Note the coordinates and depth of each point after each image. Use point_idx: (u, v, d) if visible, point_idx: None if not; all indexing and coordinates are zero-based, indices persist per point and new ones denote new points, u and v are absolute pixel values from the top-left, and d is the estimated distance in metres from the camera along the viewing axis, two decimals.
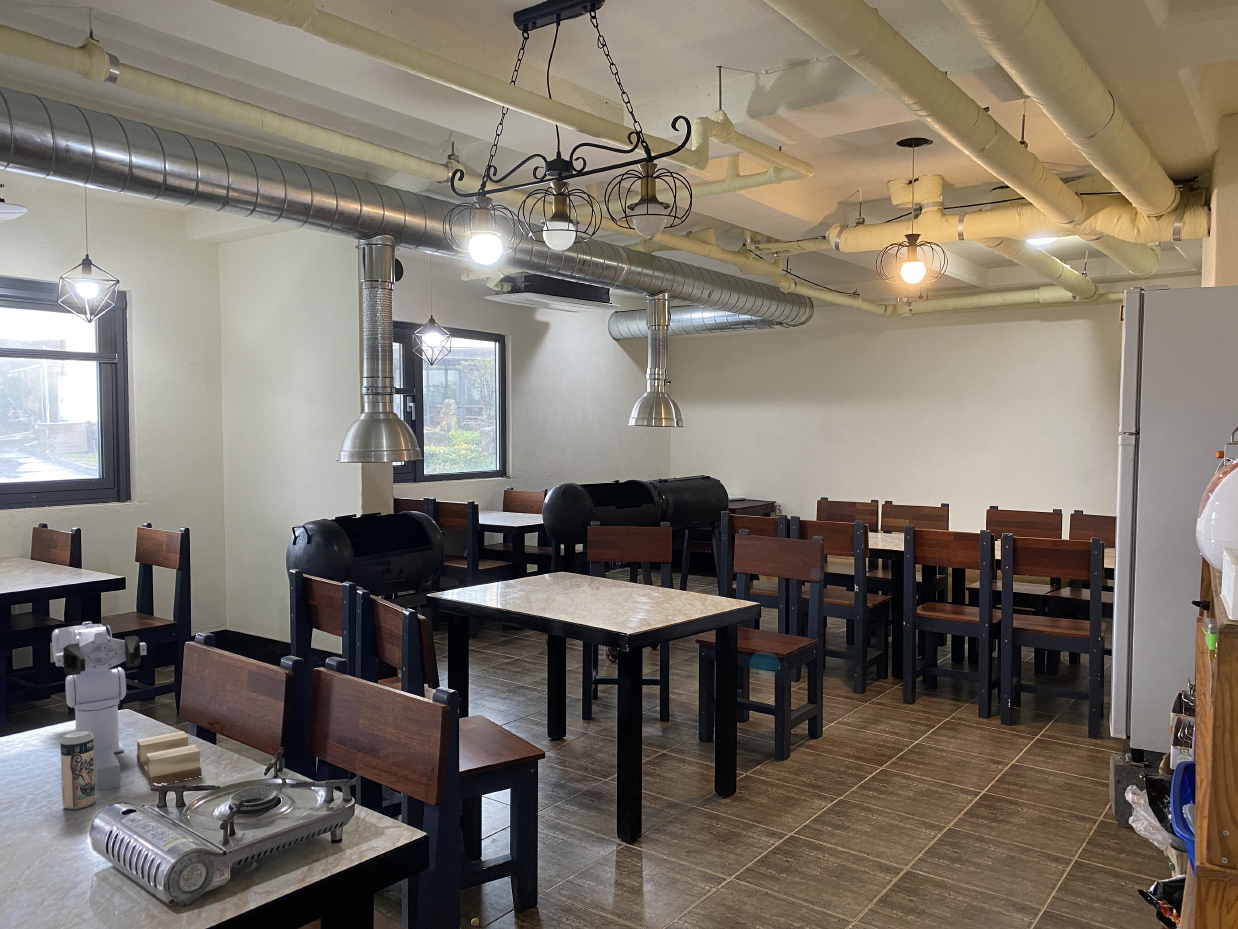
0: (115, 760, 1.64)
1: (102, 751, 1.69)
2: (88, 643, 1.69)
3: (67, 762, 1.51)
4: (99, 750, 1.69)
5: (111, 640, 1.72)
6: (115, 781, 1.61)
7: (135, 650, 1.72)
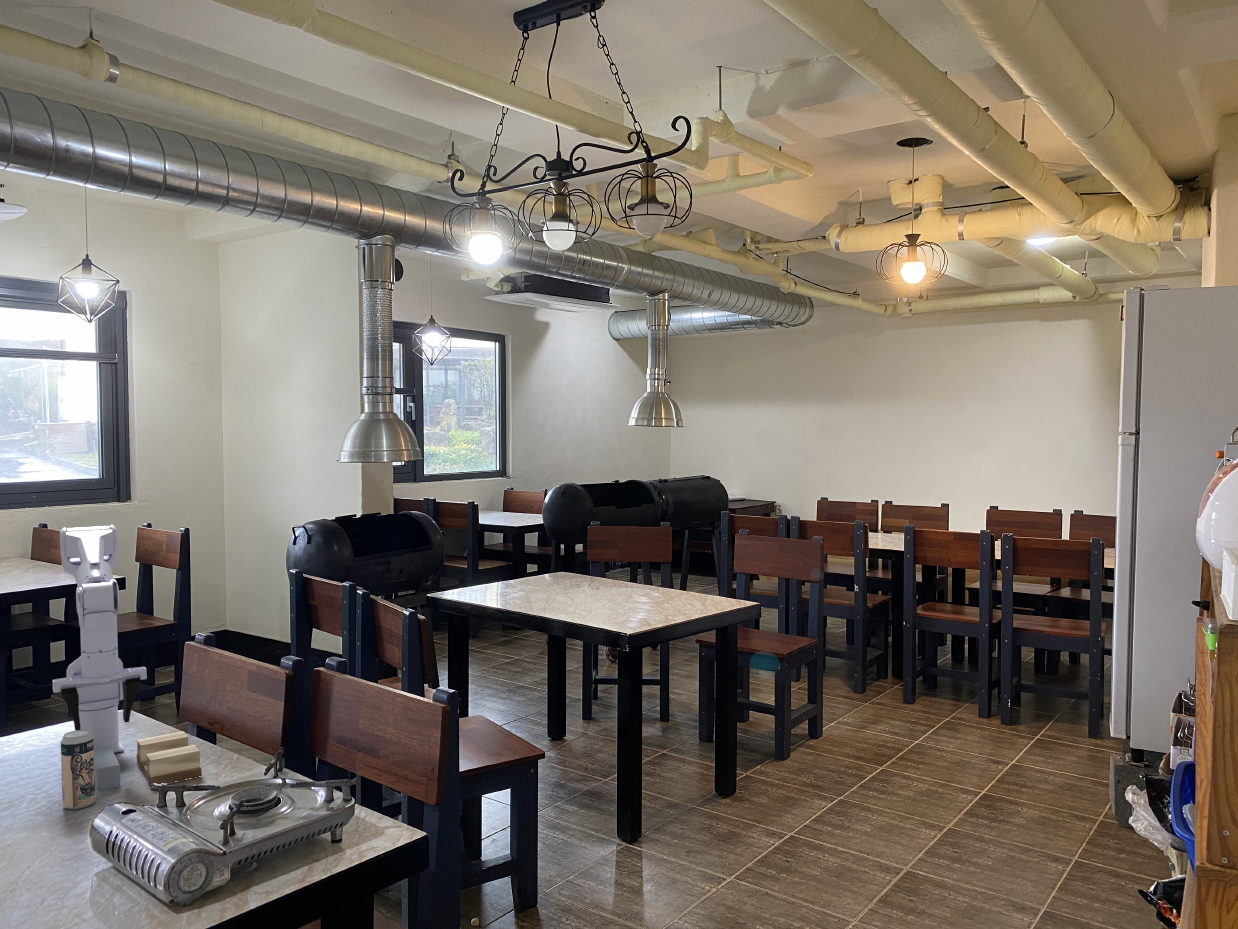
0: (115, 760, 1.64)
1: (102, 751, 1.69)
2: (89, 683, 1.62)
3: (68, 762, 1.51)
4: (99, 750, 1.69)
5: None
6: (115, 781, 1.61)
7: None
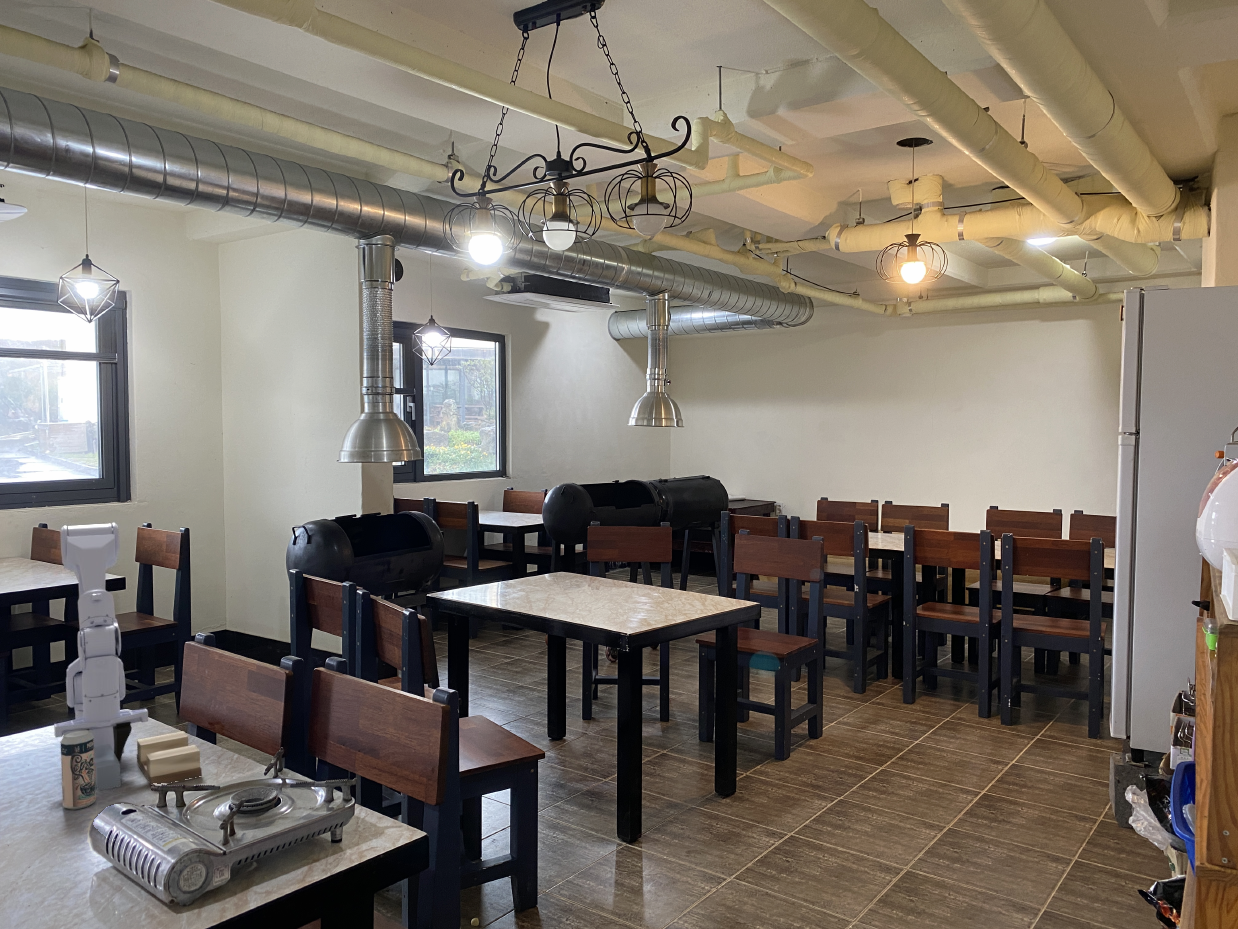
0: (115, 759, 1.64)
1: (102, 750, 1.69)
2: (90, 727, 1.62)
3: (67, 762, 1.51)
4: (99, 749, 1.69)
5: None
6: (115, 779, 1.61)
7: None
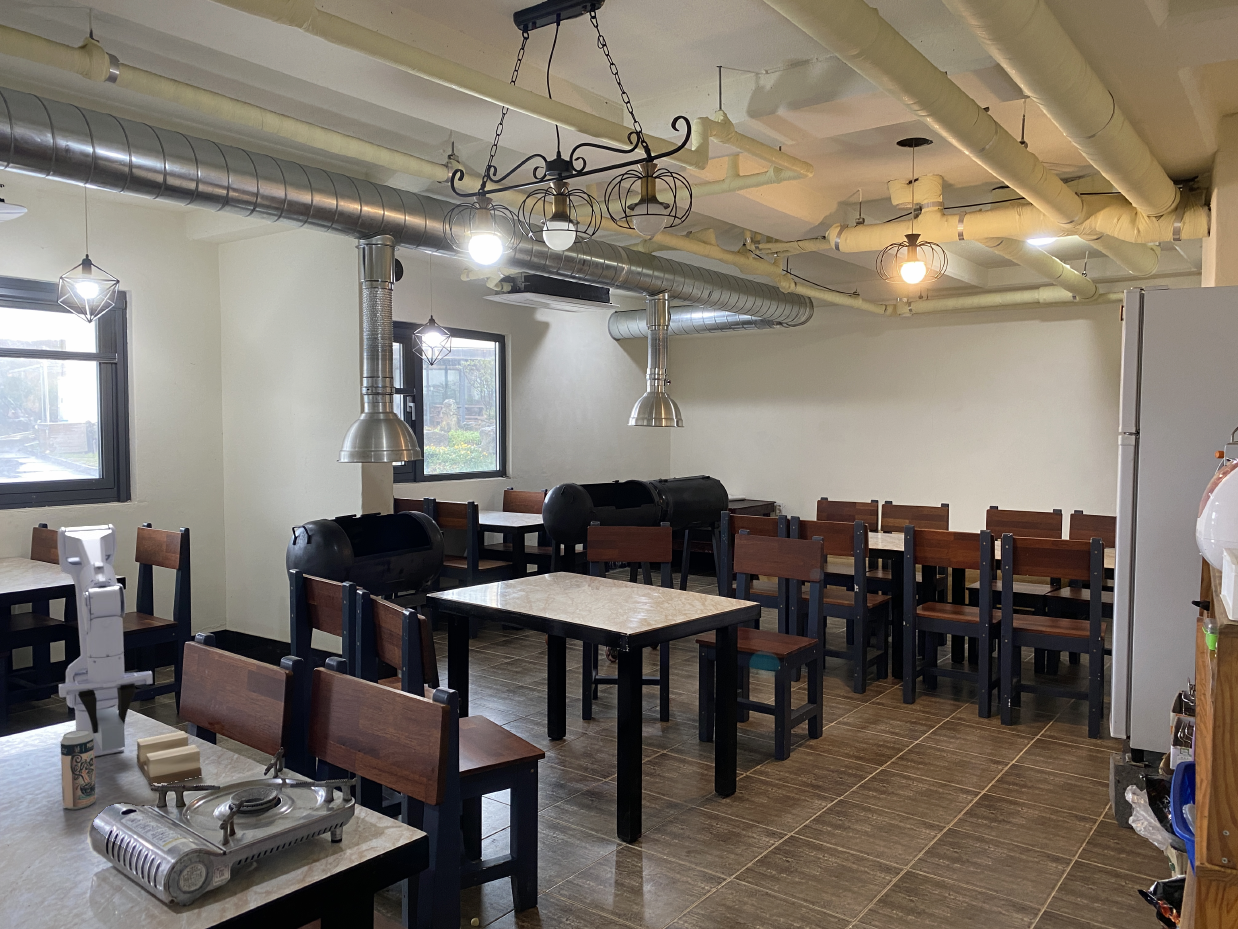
0: (119, 720, 1.64)
1: (106, 712, 1.69)
2: (95, 687, 1.63)
3: (67, 762, 1.51)
4: (104, 711, 1.69)
5: None
6: (119, 740, 1.61)
7: None
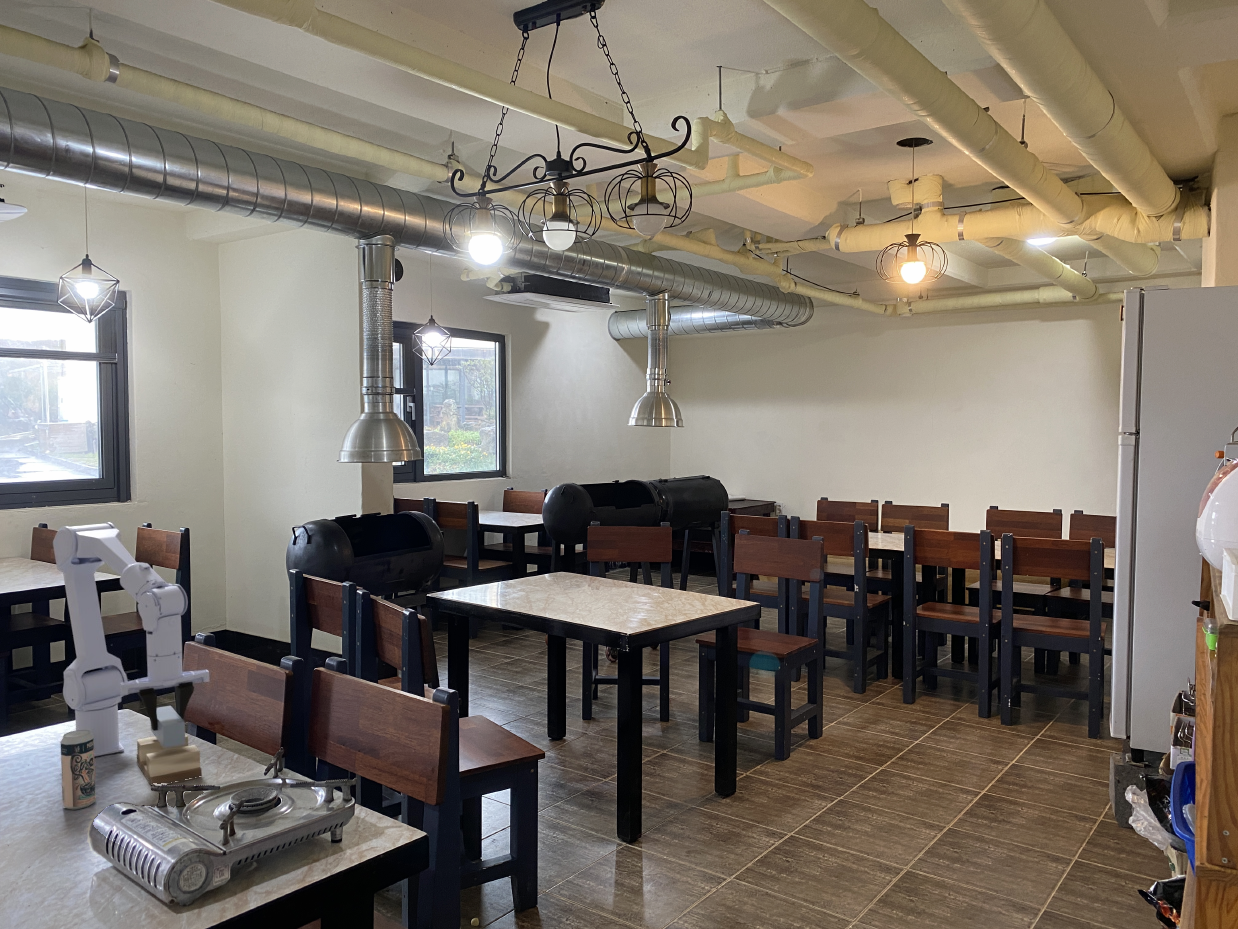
0: (179, 718, 1.67)
1: (164, 710, 1.72)
2: (155, 686, 1.66)
3: (67, 762, 1.51)
4: (161, 710, 1.72)
5: None
6: (180, 737, 1.64)
7: None
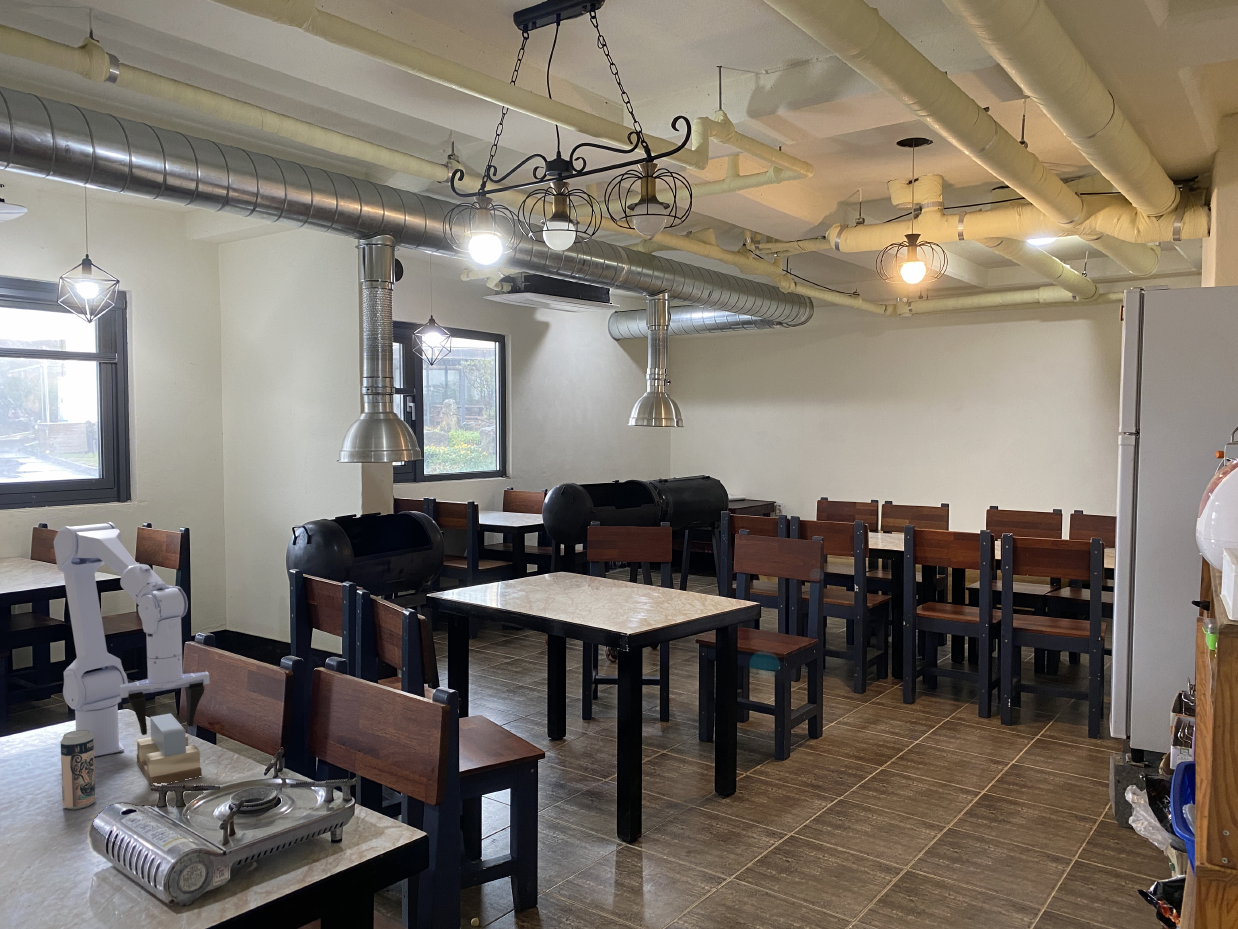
0: (180, 726, 1.67)
1: (164, 718, 1.72)
2: (155, 688, 1.66)
3: (67, 762, 1.51)
4: (162, 718, 1.72)
5: None
6: (181, 746, 1.64)
7: None
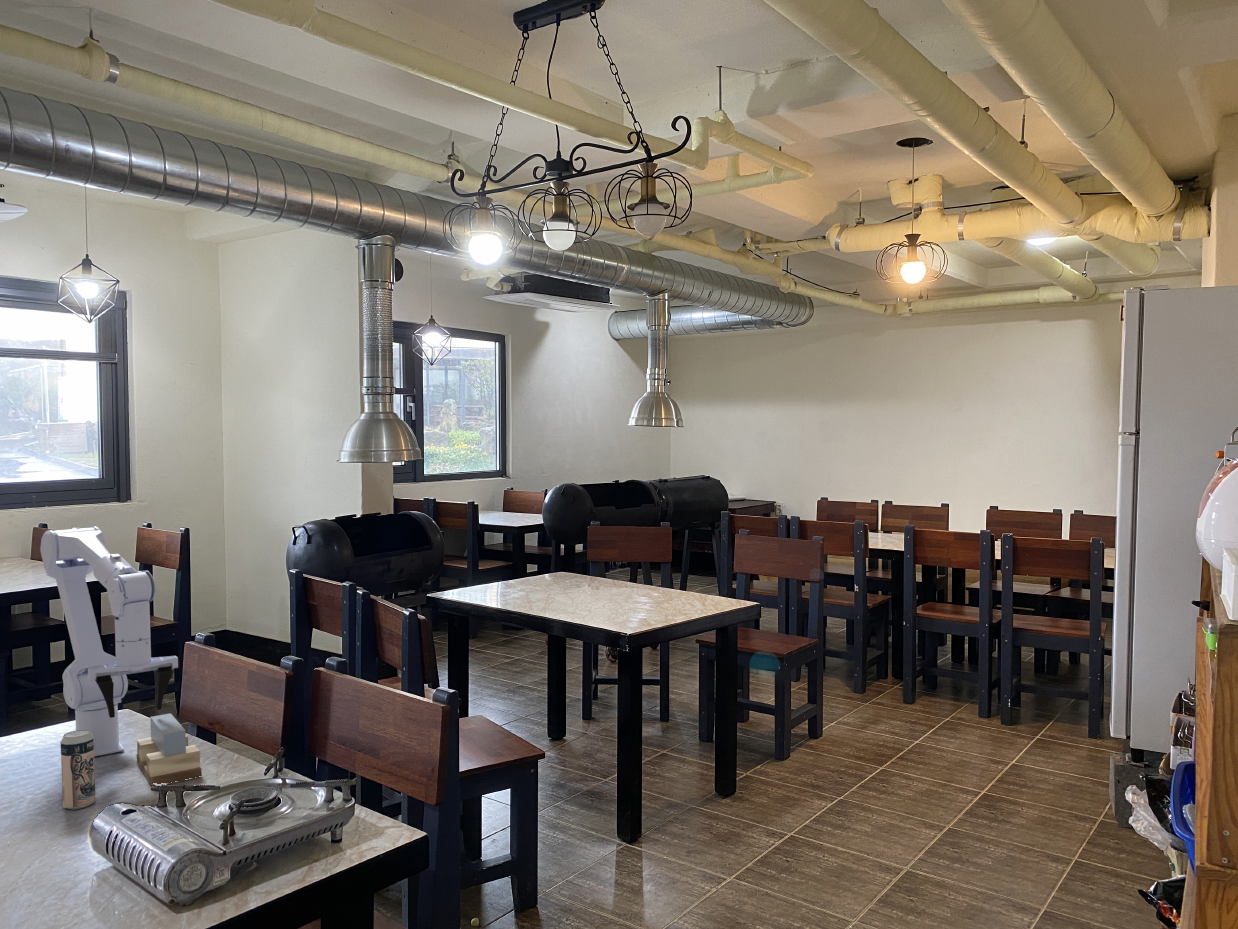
0: (180, 726, 1.67)
1: (164, 718, 1.72)
2: (123, 671, 1.67)
3: (67, 762, 1.51)
4: (162, 718, 1.72)
5: None
6: (181, 746, 1.64)
7: None
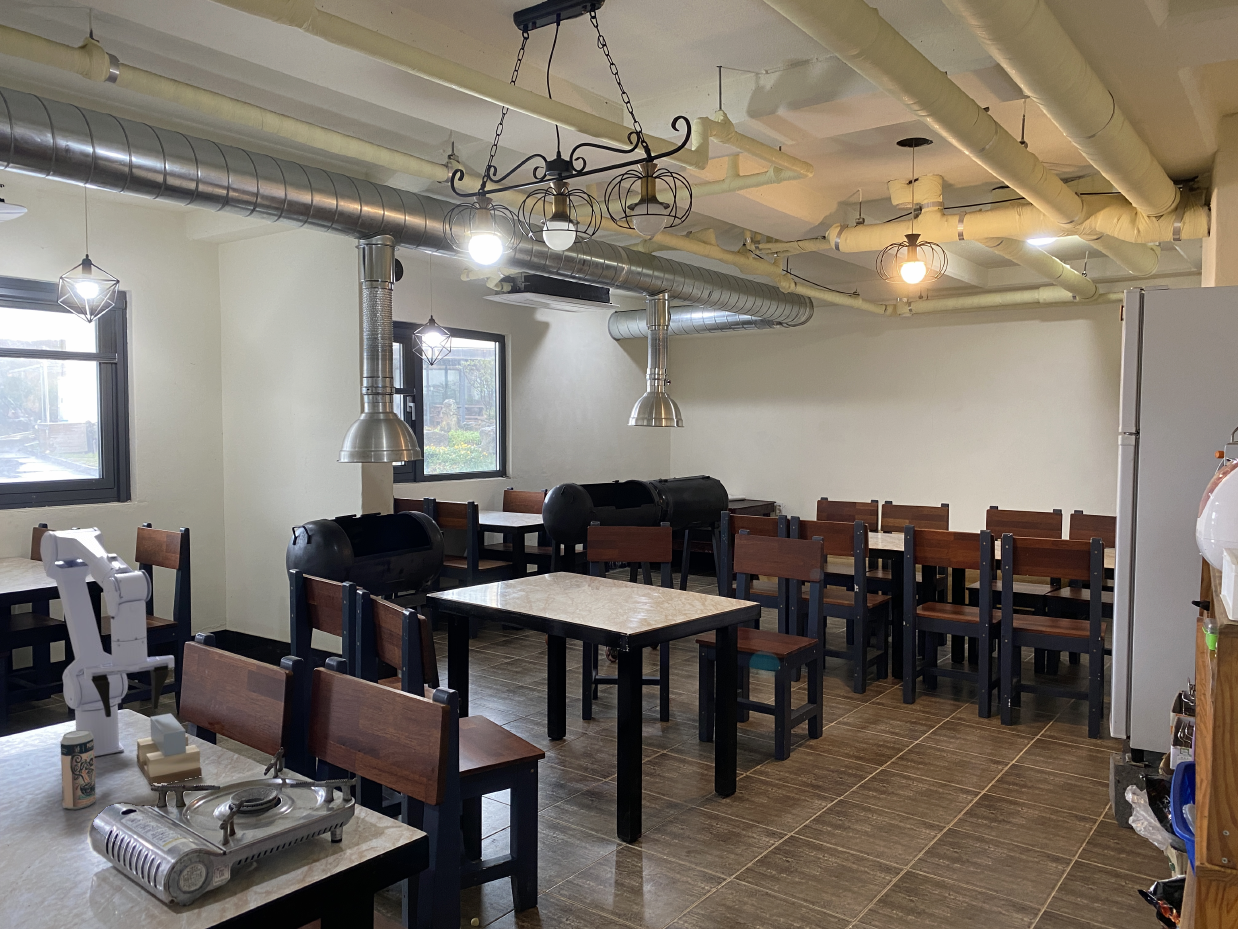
0: (180, 726, 1.67)
1: (164, 718, 1.72)
2: (119, 670, 1.67)
3: (67, 762, 1.51)
4: (162, 718, 1.72)
5: None
6: (181, 746, 1.64)
7: None
